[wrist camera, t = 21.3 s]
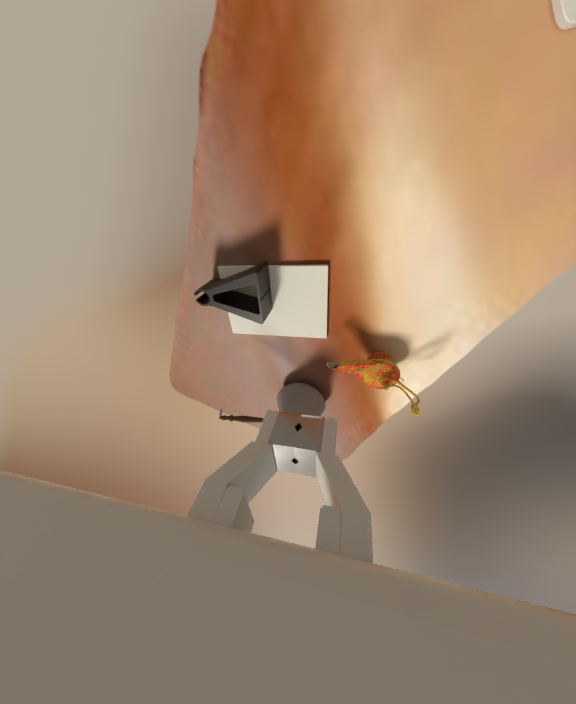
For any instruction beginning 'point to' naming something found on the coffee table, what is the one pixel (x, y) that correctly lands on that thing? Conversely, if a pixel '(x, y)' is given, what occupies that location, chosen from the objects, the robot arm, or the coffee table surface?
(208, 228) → the coffee table surface
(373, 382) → the magic lamp
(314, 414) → the coffee pot
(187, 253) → the coffee table surface
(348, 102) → the coffee table surface
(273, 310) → the mat
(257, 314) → the phone stand
